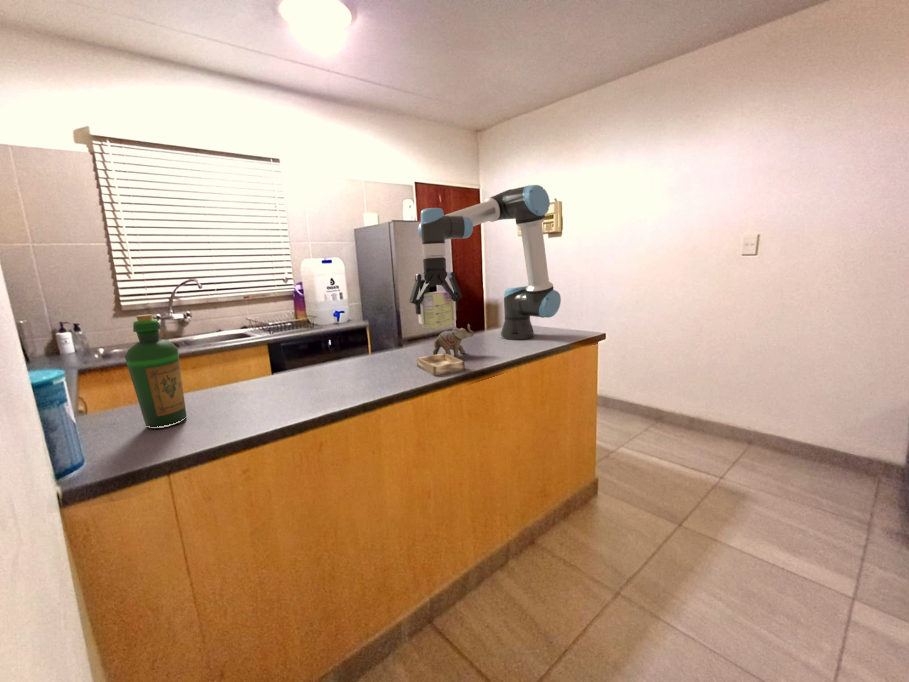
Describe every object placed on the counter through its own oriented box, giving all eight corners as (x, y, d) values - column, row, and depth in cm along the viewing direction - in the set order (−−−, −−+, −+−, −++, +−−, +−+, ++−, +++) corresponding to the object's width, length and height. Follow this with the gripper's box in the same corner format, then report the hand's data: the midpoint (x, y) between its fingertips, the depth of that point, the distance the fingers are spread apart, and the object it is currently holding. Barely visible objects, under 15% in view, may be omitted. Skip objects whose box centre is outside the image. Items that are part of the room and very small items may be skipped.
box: (440, 323, 143) (438, 290, 140) (453, 324, 140) (451, 290, 137) (421, 328, 135) (419, 293, 132) (435, 329, 131) (433, 294, 129)
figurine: (467, 367, 152) (475, 330, 147) (430, 360, 152) (437, 323, 147) (467, 359, 161) (475, 324, 157) (433, 352, 161) (439, 317, 156)
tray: (445, 360, 149) (445, 353, 149) (464, 369, 137) (464, 361, 136) (417, 366, 144) (416, 358, 143) (434, 375, 131) (433, 367, 131)
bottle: (183, 428, 98) (160, 316, 92) (133, 435, 95) (106, 320, 89) (197, 412, 108) (177, 310, 102) (152, 418, 105) (128, 314, 99)
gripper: (460, 255, 141) (462, 316, 146) (396, 258, 130) (401, 324, 135) (470, 255, 134) (473, 319, 139) (404, 258, 124) (409, 327, 128)
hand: (437, 321), depth 137 cm, fingers closed on box, 11 cm apart
